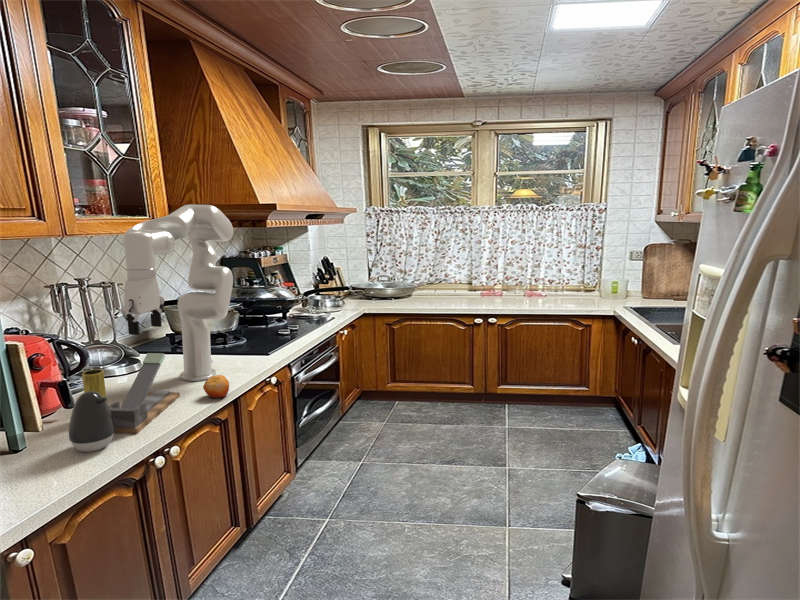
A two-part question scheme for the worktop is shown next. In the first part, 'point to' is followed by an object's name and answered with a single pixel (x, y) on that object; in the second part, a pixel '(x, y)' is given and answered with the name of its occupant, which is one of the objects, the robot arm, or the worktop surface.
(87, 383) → the vase
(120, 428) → the stand
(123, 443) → the worktop surface
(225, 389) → the fruit
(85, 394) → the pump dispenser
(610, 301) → the worktop surface
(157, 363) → the arm
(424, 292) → the worktop surface
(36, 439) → the worktop surface
